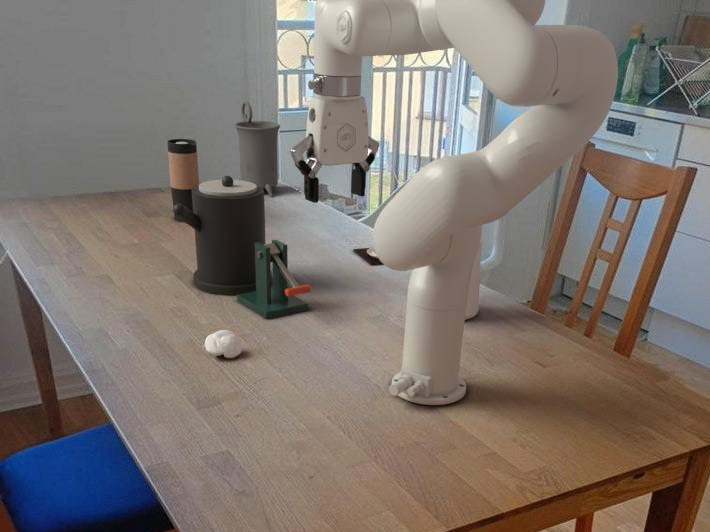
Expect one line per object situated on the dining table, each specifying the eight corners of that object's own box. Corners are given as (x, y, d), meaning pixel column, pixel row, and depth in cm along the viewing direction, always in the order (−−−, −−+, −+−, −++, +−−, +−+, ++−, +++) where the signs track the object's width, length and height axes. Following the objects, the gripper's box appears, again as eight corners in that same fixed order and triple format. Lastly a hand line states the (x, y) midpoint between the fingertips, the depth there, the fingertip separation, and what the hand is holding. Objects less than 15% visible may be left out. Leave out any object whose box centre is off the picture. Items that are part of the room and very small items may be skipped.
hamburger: (416, 261, 193) (418, 239, 190) (371, 265, 189) (372, 242, 186) (396, 247, 202) (398, 225, 200) (353, 250, 199) (354, 228, 196)
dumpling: (232, 347, 145) (236, 328, 143) (243, 362, 142) (248, 343, 140) (197, 348, 141) (201, 328, 139) (208, 363, 138) (212, 344, 136)
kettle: (285, 286, 174) (283, 179, 162) (198, 303, 163) (190, 190, 151) (240, 262, 187) (236, 162, 175) (157, 276, 176) (147, 170, 164)
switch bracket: (308, 309, 162) (308, 248, 156) (266, 319, 157) (264, 255, 150) (277, 292, 170) (276, 233, 163) (237, 300, 165) (234, 239, 158)
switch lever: (309, 295, 156) (312, 286, 154) (287, 299, 153) (289, 290, 151) (277, 251, 161) (280, 241, 159) (255, 254, 158) (257, 245, 156)
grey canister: (293, 194, 246) (292, 107, 233) (250, 199, 239) (247, 109, 226) (265, 182, 260) (263, 99, 246) (224, 186, 253) (220, 100, 239)
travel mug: (170, 216, 220) (163, 139, 209) (197, 214, 222) (192, 138, 212) (177, 223, 214) (170, 144, 203) (204, 221, 217) (199, 143, 206)
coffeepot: (417, 332, 154) (425, 236, 144) (433, 291, 175) (440, 204, 165) (472, 338, 153) (484, 241, 143) (481, 296, 173) (492, 209, 163)
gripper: (304, 92, 119) (304, 208, 128) (394, 88, 128) (388, 197, 137) (278, 86, 124) (280, 198, 133) (366, 82, 133) (362, 188, 142)
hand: (335, 197), depth 135 cm, fingers open, 9 cm apart
